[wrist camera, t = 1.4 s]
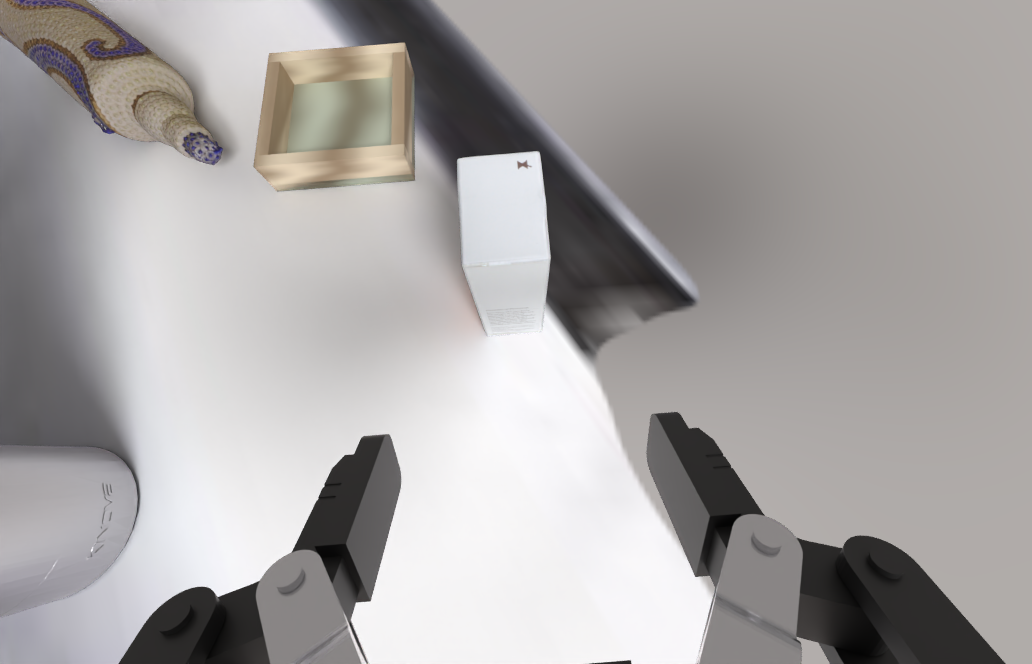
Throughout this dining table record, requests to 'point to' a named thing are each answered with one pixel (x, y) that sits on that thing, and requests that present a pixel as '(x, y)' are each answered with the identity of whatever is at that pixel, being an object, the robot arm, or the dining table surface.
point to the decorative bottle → (108, 73)
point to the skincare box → (505, 239)
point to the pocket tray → (337, 118)
